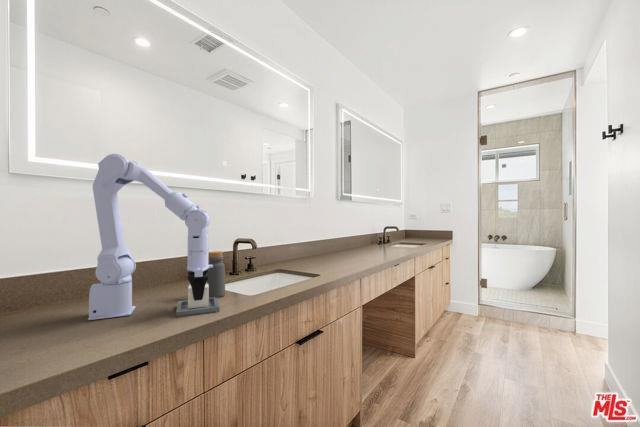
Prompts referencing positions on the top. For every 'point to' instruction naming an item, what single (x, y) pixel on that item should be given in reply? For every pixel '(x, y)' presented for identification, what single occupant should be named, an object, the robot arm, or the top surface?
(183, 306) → the slate tray
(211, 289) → the bottle
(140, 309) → the top surface
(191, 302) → the ceramic cube
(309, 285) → the top surface
